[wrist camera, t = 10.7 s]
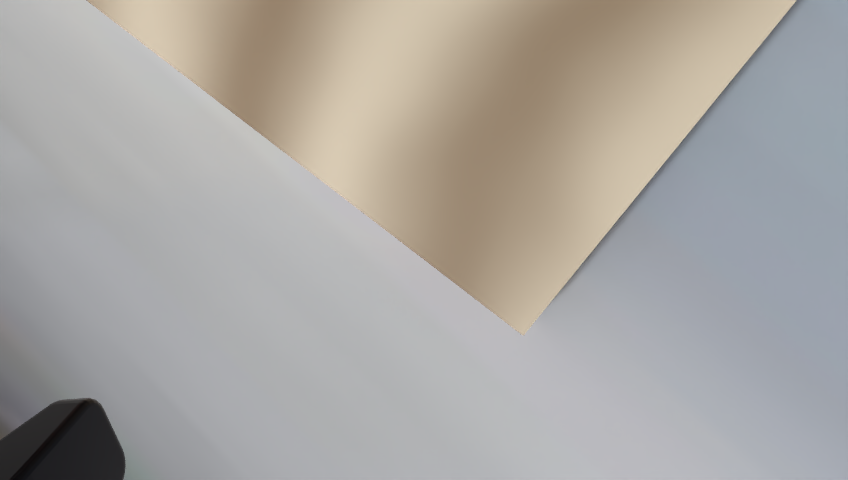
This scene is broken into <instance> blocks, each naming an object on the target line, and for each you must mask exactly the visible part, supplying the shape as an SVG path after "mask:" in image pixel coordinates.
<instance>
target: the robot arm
mask: <svg viewBox="0 0 848 480" xmlns="http://www.w3.org/2000/svg"><path fill="white" fill-rule="evenodd" d="M124 474H125V456H124V452H123V449H122V447H121V445H120V443H119V441H118V439H117V436H116V434H115V432H114V430H113V428H112V426H111V424H110V421H109V419H108V417H107V415H106V413H105V411H104V409H103V407H102V405H101V404H100V403H99V402H98V401H96V400H95V399H91V398H81V399H65V400H59V401H56V402H54V403H52V404H50V405H49V406H48V407H46V408H45V409H43V410H42V411H41V412H39V413H38V414H36V415H35V416H34V417H32V418H31V419H29V420H28V421H27V422H25V423H24V424H22V425H21V426H19V427H18V428H17V429H15V430H14V431H12V432H11V433H10V434H8V435H7V436H5V437H4V438H3V439H1V440H0V480H123V479H124Z"/></svg>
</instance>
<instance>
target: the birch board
mask: <svg viewBox="0 0 848 480" xmlns="http://www.w3.org/2000/svg"><path fill="white" fill-rule="evenodd" d="M87 1H88V2H89V3H91V4H92V5H93V6H94V7H96V8H97V9H98V10H100V11H101V12H102V13H104V14H105V15H106V16H107V17H109V18H110V19H111V20H113V21H114V22H115V23H117V24H118V25H119V26H120V27H122V28H123V29H124V30H126V31H127V32H128V33H130V34H131V35H132V36H134V37H135V38H136V39H137V40H139V41H140V42H141V43H143V44H144V45H145V46H147V47H148V48H149V49H150V50H152V51H153V52H154V53H156V54H157V55H158V56H160V57H161V58H162V59H163V60H165V61H166V62H167V63H169V64H170V65H171V66H173V67H174V68H175V69H176V70H178V71H179V72H180V73H182V74H183V75H184V76H186V77H187V78H188V79H190V80H191V81H192V82H193V83H195V84H196V85H197V86H199V87H200V88H201V89H203V90H204V91H205V92H206V93H208V94H209V95H210V96H212V97H213V98H214V99H216V100H217V101H218V102H219V103H221V104H222V105H223V106H225V107H226V108H227V109H229V110H230V111H231V112H232V113H234V114H235V115H236V116H238V117H239V118H240V119H242V120H243V121H244V122H246V123H247V124H248V125H249V126H251V127H252V128H253V129H255V130H256V131H257V132H259V133H260V134H261V135H262V136H264V137H265V138H266V139H268V140H269V141H270V142H272V143H273V144H274V145H275V146H277V147H278V148H279V149H281V150H282V151H283V152H285V153H286V154H287V155H288V156H290V157H291V158H292V159H294V160H295V161H296V162H298V163H299V164H300V165H302V166H303V167H304V168H305V169H307V170H308V171H309V172H311V173H312V174H313V175H315V176H316V177H317V178H318V179H320V180H321V181H322V182H324V183H325V184H326V185H328V186H329V187H330V188H331V189H333V190H334V191H335V192H337V193H338V194H339V195H341V196H342V197H343V198H344V199H346V200H347V201H348V202H350V203H351V204H352V205H354V206H355V207H356V208H357V209H359V210H360V211H361V212H363V213H364V214H365V215H367V216H368V217H369V218H371V219H372V220H373V221H374V222H376V223H377V224H378V225H380V226H381V227H382V228H384V229H385V230H386V231H387V232H389V233H390V234H391V235H393V236H394V237H395V238H397V239H398V240H399V241H400V242H402V243H403V244H404V245H406V246H407V247H408V248H410V249H411V250H412V251H413V252H415V253H416V254H417V255H419V256H420V257H421V258H423V259H424V260H425V261H427V262H428V263H429V264H430V265H432V266H433V267H434V268H436V269H437V270H438V271H440V272H441V273H442V274H443V275H445V276H446V277H447V278H449V279H450V280H451V281H453V282H454V283H455V284H456V285H458V286H459V287H460V288H462V289H463V290H464V291H466V292H467V293H468V294H469V295H471V296H472V297H473V298H475V299H476V300H477V301H479V302H480V303H481V304H483V305H484V306H485V307H486V308H488V309H489V310H490V311H492V312H493V313H494V314H496V315H497V316H498V317H499V318H501V319H502V320H503V321H505V322H506V323H507V324H509V325H510V326H511V327H512V328H514V329H515V330H516V331H518V332H519V333H520V334H522V335H524V334H525V333H526V332H527V330H528V329H529V328H530V327H531V326H532V324H533V323H534V322H535V321H536V319H537V318H538V317H539V316H540V315H541V313H542V312H543V311H544V310H545V308H546V307H547V306H548V305H549V303H550V302H551V301H552V300H553V299H554V297H555V296H556V295H557V294H558V292H559V291H560V290H561V289H562V288H563V286H564V285H565V284H566V283H567V281H568V280H569V279H570V278H571V277H572V275H573V274H574V273H575V272H576V270H577V269H578V268H579V267H580V265H581V264H582V263H583V262H584V261H585V259H586V258H587V257H588V256H589V254H590V253H591V252H592V251H593V250H594V248H595V247H596V246H597V245H598V243H599V242H600V241H601V240H602V238H603V237H604V236H605V235H606V234H607V232H608V231H609V230H610V229H611V227H612V226H613V225H614V224H615V223H616V221H617V220H618V219H619V218H620V216H621V215H622V214H623V213H624V211H625V210H626V209H627V208H628V207H629V205H630V204H631V203H632V202H633V200H634V199H635V198H636V197H637V196H638V194H639V193H640V192H641V191H642V189H643V188H644V187H645V186H646V184H647V183H648V182H649V181H650V180H651V178H652V177H653V176H654V175H655V173H656V172H657V171H658V170H659V169H660V167H661V166H662V165H663V164H664V162H665V161H666V160H667V159H668V158H669V156H670V155H671V154H672V153H673V151H674V150H675V149H676V148H677V146H678V145H679V144H680V143H681V142H682V140H683V139H684V138H685V137H686V135H687V134H688V133H689V132H690V131H691V129H692V128H693V127H694V126H695V124H696V123H697V122H698V121H699V119H700V118H701V117H702V116H703V115H704V113H705V112H706V111H707V110H708V108H709V107H710V106H711V105H712V104H713V102H714V101H715V100H716V99H717V97H718V96H719V95H720V94H721V92H722V91H723V90H724V89H725V88H726V86H727V85H728V84H729V83H730V81H731V80H732V79H733V78H734V77H735V75H736V74H737V73H738V72H739V70H740V69H741V68H742V67H743V65H744V64H745V63H746V62H747V61H748V59H749V58H750V57H751V56H752V54H753V53H754V52H755V51H756V50H757V48H758V47H759V46H760V45H761V43H762V42H763V41H764V40H765V38H766V37H767V36H768V35H769V34H770V32H771V31H772V30H773V29H774V27H775V26H776V25H777V24H778V23H779V21H780V20H781V19H782V18H783V16H784V15H785V14H786V13H787V12H788V10H789V9H790V8H791V7H792V5H793V4H794V3H795V2H796V0H87Z"/></svg>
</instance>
